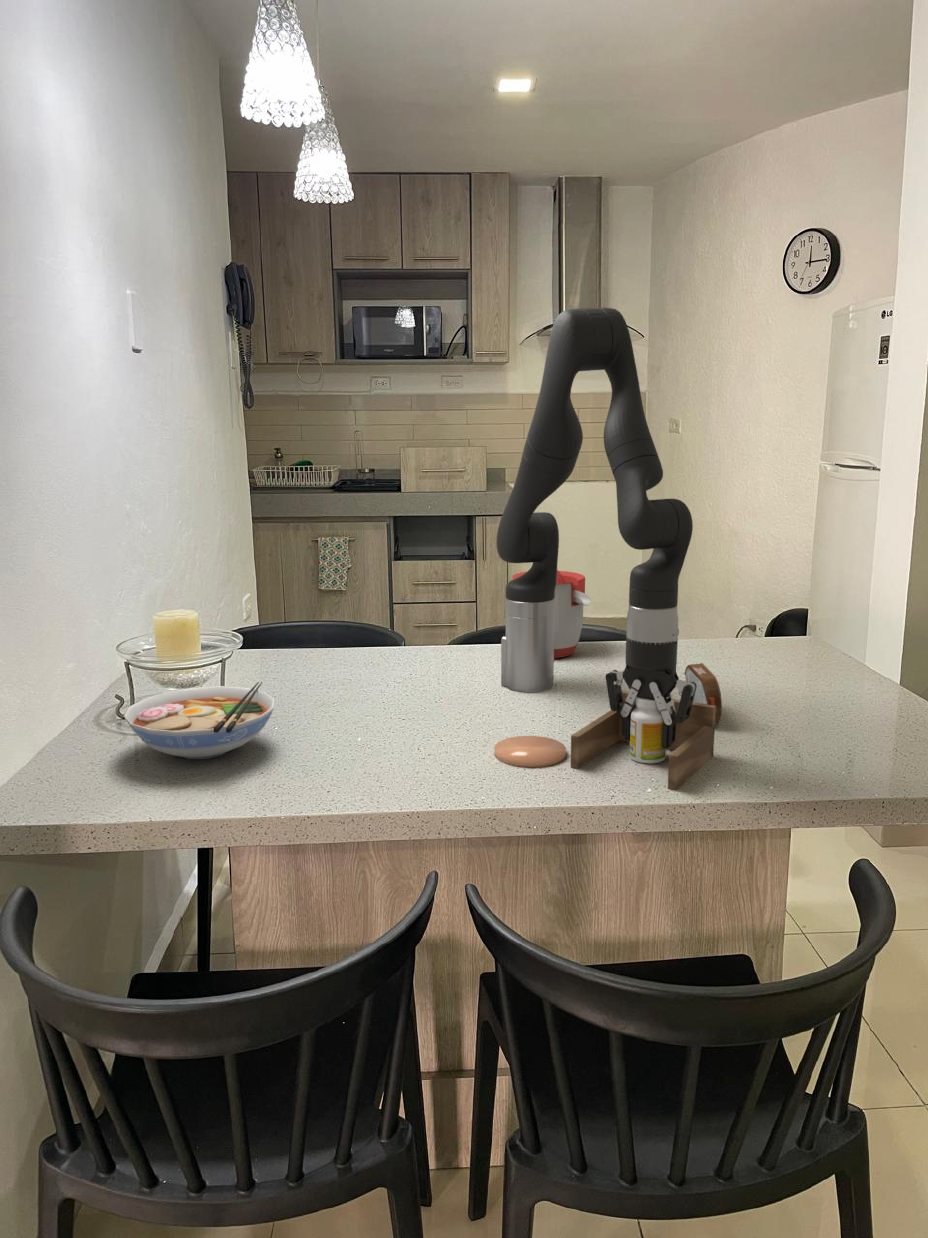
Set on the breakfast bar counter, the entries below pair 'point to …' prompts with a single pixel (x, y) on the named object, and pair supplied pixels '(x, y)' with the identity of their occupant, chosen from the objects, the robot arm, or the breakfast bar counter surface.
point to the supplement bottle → (646, 732)
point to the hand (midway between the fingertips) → (648, 742)
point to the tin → (705, 687)
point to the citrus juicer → (567, 611)
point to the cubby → (687, 748)
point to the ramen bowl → (200, 719)
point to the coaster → (530, 751)
